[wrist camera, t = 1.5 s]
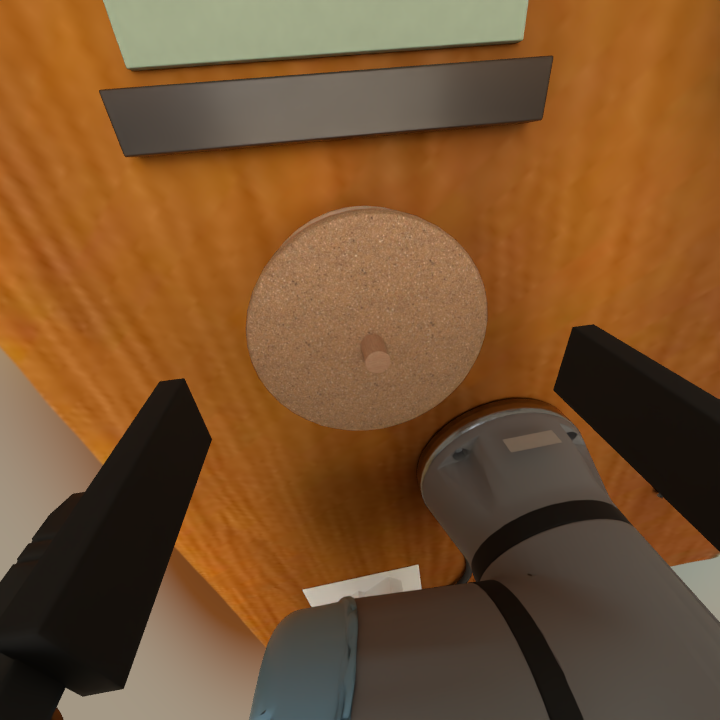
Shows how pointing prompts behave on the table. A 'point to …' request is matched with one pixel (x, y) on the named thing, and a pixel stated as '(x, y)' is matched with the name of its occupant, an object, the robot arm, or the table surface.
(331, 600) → the napkin holder
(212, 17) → the mat
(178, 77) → the table surface
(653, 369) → the robot arm
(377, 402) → the trinket box
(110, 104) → the divider
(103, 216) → the table surface
